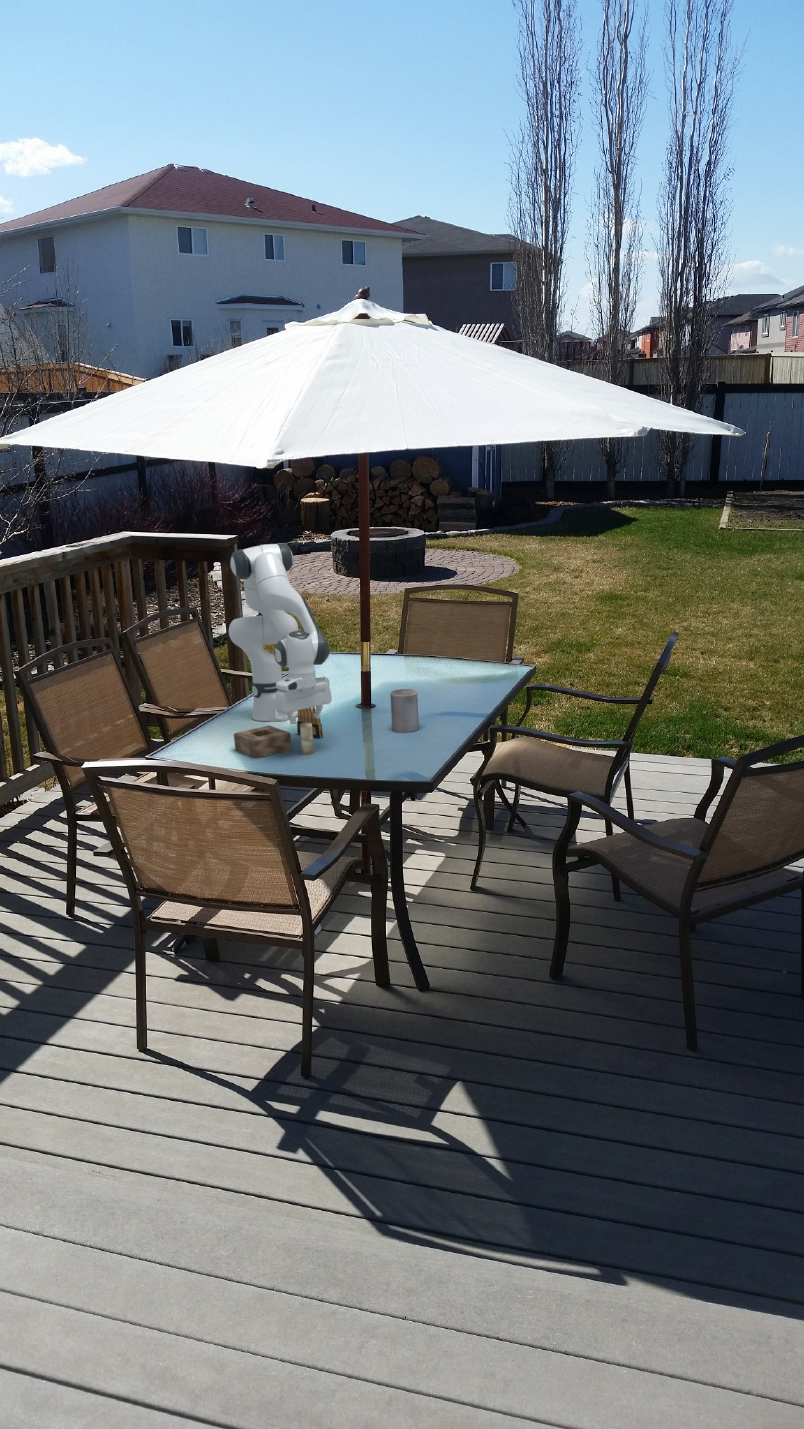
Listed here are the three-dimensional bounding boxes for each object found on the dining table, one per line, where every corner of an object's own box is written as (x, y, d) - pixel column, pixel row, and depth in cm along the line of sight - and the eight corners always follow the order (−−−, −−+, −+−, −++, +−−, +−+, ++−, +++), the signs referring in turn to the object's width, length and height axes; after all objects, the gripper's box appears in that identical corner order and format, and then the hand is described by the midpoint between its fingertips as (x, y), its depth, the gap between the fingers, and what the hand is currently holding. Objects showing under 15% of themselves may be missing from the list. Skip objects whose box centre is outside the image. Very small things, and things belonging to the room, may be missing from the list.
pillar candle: (395, 725, 388) (393, 685, 384) (421, 725, 386) (419, 685, 382) (389, 733, 379) (387, 692, 375) (416, 733, 377) (414, 692, 373)
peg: (309, 750, 362) (307, 722, 359) (316, 752, 359) (314, 724, 356) (299, 752, 359) (297, 724, 357) (306, 755, 356) (304, 726, 354)
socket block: (270, 741, 374) (269, 725, 372) (291, 749, 363) (290, 732, 362) (235, 750, 366) (233, 733, 364) (255, 758, 355) (254, 741, 353)
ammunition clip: (297, 734, 382) (295, 702, 378) (300, 733, 383) (298, 701, 380) (319, 738, 375) (317, 705, 372) (323, 737, 376) (320, 704, 373)
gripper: (323, 674, 361) (326, 714, 364) (271, 684, 349) (274, 725, 352) (333, 676, 356) (336, 717, 359) (281, 687, 344) (284, 728, 347)
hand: (305, 721), depth 356 cm, fingers open, 8 cm apart
